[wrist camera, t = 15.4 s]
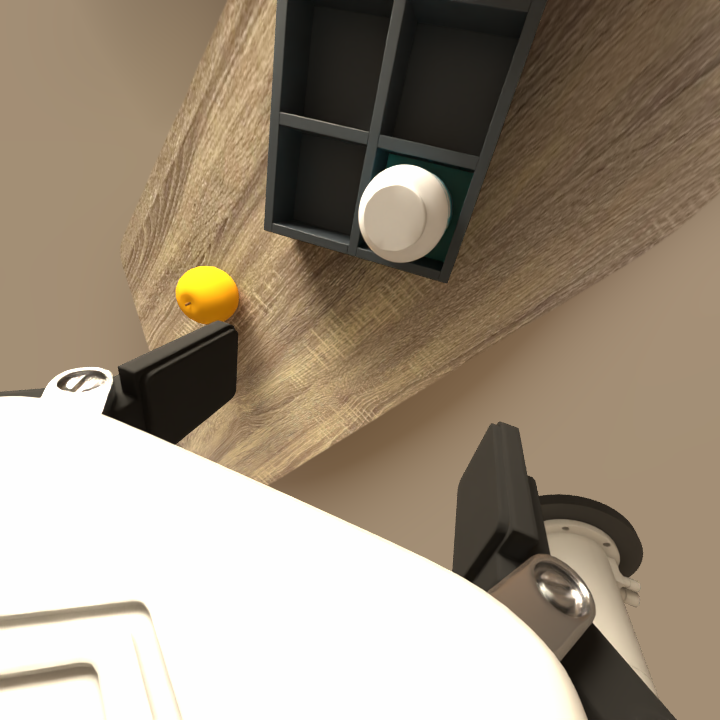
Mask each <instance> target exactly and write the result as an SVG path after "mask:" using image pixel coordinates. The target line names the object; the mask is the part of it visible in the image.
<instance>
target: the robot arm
mask: <svg viewBox="0 0 720 720" xmlns="http://www.w3.org/2000/svg"><path fill="white" fill-rule="evenodd" d="M237 351H238V332H237V331H236V330H235V328H234V326H233V325H231V324H228V323H225V322H222V321H219V320H217V321H215V322H212V323H210V324H208V325H206V326H204V327H202V328H200V329H197V330H195V331H193V332H191V333H189V334H187V335H185V336H182V337H180V338H178V339H176V340H174V341H172V342H170V343H167V344H165V345H163V346H161V347H159V348H157V349H155V350H152V351H150V352H148V353H146V354H144V355H142V356H140V357H137V358H135V359H133V360H131V361H129V362H127V363H125V364H122V365H120V366H118V371H119V375H117V376H115V377H113V375H112V373H111V372H110V371H108V370H106V369H102V368H98V367H97V368H96V367H84V368H77V369H72V370H69V371H66V372H63V373H61V374H59V375H57V376H56V377H54V378H53V379H52V380H51V381H50V383H49V384H48V386H47V388H43V389H31V390H19V391H6V392H0V720H676V719H675V717H674V716H673V715H672V714H671V713H670V712H669V710H668V709H667V708H666V707H665V706H664V705H663V703H662V702H661V701H660V700H659V698H658V695H657V692H656V689H655V686H654V684H653V681H652V678H651V676H650V673H649V670H648V667H647V665H646V662H645V659H644V657H643V654H642V651H641V648H640V645H639V643H638V640H637V637H636V634H635V632H634V629H633V626H632V624H631V621H630V618H629V615H628V612H627V610H626V607H625V604H624V603H626V604H629V605H631V606H633V607H637V606H638V605H639V604H640V598H639V595H638V593H636V592H639V591H640V589H641V586H640V583H639V582H638V581H635V580H633V579H630V578H628V577H624V576H622V574H621V573H620V571H619V569H618V566H619V563H620V555H619V552H618V549H617V547H616V545H615V543H614V541H613V540H612V539H611V538H610V536H608V535H607V534H606V533H605V532H603V531H602V530H600V529H598V528H596V527H595V526H592V525H589V524H587V523H584V522H580V521H576V520H568V519H553V520H546V521H544V520H543V515H542V510H541V506H540V501H539V496H538V491H537V486H536V482H535V480H534V479H533V478H532V477H530V476H528V475H527V471H526V466H525V460H524V455H523V449H522V444H521V438H520V433H519V429H518V428H516V427H514V426H511V425H508V424H506V423H502V422H498V424H497V425H495V424H491V425H490V426H489V428H488V430H487V432H486V434H485V435H484V437H483V439H482V441H481V443H480V445H479V446H478V448H477V450H476V452H475V454H474V456H473V457H472V459H471V461H470V463H469V465H468V467H467V469H466V471H465V472H464V474H463V476H462V478H461V480H460V483H459V486H458V494H457V509H456V526H455V540H454V555H453V570H452V571H449V570H448V569H446V568H444V567H442V566H440V565H438V564H436V563H434V562H432V561H430V560H428V559H426V558H424V557H422V556H420V555H417V554H415V553H413V552H411V551H409V550H407V549H405V548H403V547H401V546H398V545H396V544H394V543H392V542H390V541H388V540H385V539H383V538H381V537H379V536H377V535H375V534H373V533H370V532H368V531H366V530H364V529H362V528H359V527H357V526H355V525H353V524H350V523H348V522H346V521H344V520H342V519H340V518H337V517H335V516H333V515H330V514H328V513H326V512H324V511H322V510H320V509H318V508H315V507H313V506H311V505H309V504H306V503H304V502H302V501H300V500H298V499H295V498H293V497H291V496H289V495H286V494H284V493H282V492H280V491H277V490H275V489H273V488H271V487H269V486H266V485H264V484H262V483H260V482H257V481H255V480H253V479H251V478H248V477H246V476H244V475H242V474H239V473H237V472H235V471H233V470H230V469H228V468H226V467H224V466H221V465H219V464H217V463H215V462H212V461H210V460H208V459H206V458H203V457H201V456H199V455H196V454H194V453H192V452H190V451H187V450H185V449H183V448H180V447H178V446H176V445H175V444H177V443H178V442H179V441H180V440H182V439H183V438H184V437H185V436H186V435H188V434H189V433H190V432H191V431H193V430H194V429H195V428H196V427H198V426H199V425H200V424H201V423H202V422H204V421H205V420H206V419H207V418H209V417H210V416H211V415H212V414H214V413H215V412H216V411H217V410H218V409H220V408H221V407H222V406H223V405H225V404H226V403H227V402H228V401H229V400H231V399H232V398H233V396H234V395H235V392H236V380H237ZM623 586H624V587H623ZM625 587H626V588H625ZM627 588H628V589H627ZM632 590H633V591H632Z"/></svg>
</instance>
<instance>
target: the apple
mask: <svg viewBox="0 0 720 720" xmlns="http://www.w3.org/2000/svg"><path fill="white" fill-rule="evenodd" d="M176 299H177V302H178V305H179V307H180V309H181V310H182V311H183V312H184V314H185V315H186V316H188V317H189V318H190V319H192V320H194V321H196V322H198V323H201V324H210V323H212V322H215V321H217V320H219V321H222V322H224V321H225V320H227V319H228V318H229V317H231V316H232V315H233V314H234V312H235V310H236V309H237V307H238V303H239V293H238V289H237V286H236V284H235V282H234V281H233V280H232V278H231V277H230V276H229V275H228V274H226V273H225V272H224V271H222V270H220V269H217V268H215V267H208V266H200V267H197V268H194V269H191V270H189V271H188V272H186V273H185V274H184V275H183V276H182V277H181V278H180V280H179V282H178V285H177V287H176Z"/></svg>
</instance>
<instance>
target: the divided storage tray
mask: <svg viewBox="0 0 720 720" xmlns="http://www.w3.org/2000/svg"><path fill="white" fill-rule="evenodd" d="M546 3H547V0H277V10H276V28H275V45H274V63H273V80H272V98H271V115H270V133H269V150H268V167H267V185H266V202H265V220H264V230H266V231H269V232H273V233H276V234H279V235H283V236H286V237H290V238H293V239H297V240H300V241H303V242H307V243H310V244H314V245H317V246H320V247H324V248H327V249H331V250H334V251H338V252H341V253H344V254H348V255H351V256H356V257H358V258H361V259H365V260H368V261H372V262H375V263H378V264H382V265H385V266H389V267H392V268H396V269H399V270H402V271H406V272H409V273H413V274H416V275H419V276H423V277H426V278H430V279H433V280H437V281H440V282H443V283H448V280H449V277H450V275H451V272H452V269H453V266H454V263H455V260H456V258H457V255H458V252H459V249H460V246H461V243H462V241H463V238H464V235H465V232H466V229H467V226H468V224H469V221H470V218H471V215H472V212H473V209H474V207H475V204H476V201H477V198H478V195H479V193H480V190H481V187H482V184H483V181H484V178H485V176H486V173H487V170H488V167H489V164H490V161H491V159H492V156H493V153H494V150H495V147H496V144H497V142H498V139H499V136H500V133H501V130H502V127H503V125H504V122H505V119H506V116H507V113H508V110H509V108H510V105H511V102H512V99H513V96H514V93H515V91H516V88H517V85H518V82H519V79H520V76H521V74H522V71H523V68H524V65H525V62H526V59H527V57H528V54H529V51H530V48H531V45H532V42H533V40H534V37H535V34H536V31H537V28H538V25H539V23H540V20H541V17H542V14H543V11H544V8H545V6H546ZM397 165H413V166H417V167H420V168H422V169H424V170H426V171H428V172H430V173H432V174H434V175H436V176H437V177H439V178H440V179H441V180H442V181H443V182H444V183H445V184H446V186H447V187H448V189H449V191H450V194H451V197H452V202H453V212H452V217H451V221H450V223H449V226H448V228H447V229H446V231H445V233H444V234H443V236H442V237H441V239H440V240H439V242H438V243H437V245H436V246H435V247H434V248H433V249H432V250H431V251H430V252H429V253H428V254H426V255H425V256H423V257H421V258H419V259H417V260H414V261H411V262H405V263H397V262H392V261H388V260H386V259H383V258H382V257H380V256H378V255H377V254H376V253H374V252H373V251H372V250H371V249H370V247H369V246H368V245H367V243H366V242H365V240H364V238H363V236H362V233H361V230H360V226H359V217H358V216H359V206H360V201H361V198H362V196H363V193H364V191H365V189H366V188H367V186H368V185H369V183H370V182H371V181H372V180H373V179H374V178H375V177H376V176H377V175H378V174H380V173H381V172H383V171H384V170H386V169H388V168H390V167H393V166H397Z"/></svg>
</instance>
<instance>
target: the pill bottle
mask: <svg viewBox="0 0 720 720" xmlns="http://www.w3.org/2000/svg"><path fill="white" fill-rule="evenodd" d="M452 212H453V202H452V197H451V194H450V191H449V189H448V187H447V186H446V184H445V183H444V182H443V181H442V180H441V179H440V178H439V177H437V176H436V175H434V174H432V173H430V172H428V171H426V170H424V169H422V168H420V167H417V166H413V165H397V166H393V167H390V168H388V169H386V170H384V171H383V172H381V173H380V174H378V175H377V176H376V177H375V178H374V179H373V180H372V181H371V182H370V183H369V185H368V186H367V188H366V189H365V191H364V193H363V196H362V198H361V201H360V206H359V216H358V217H359V226H360V230H361V233H362V236H363V238H364V240H365V242H366V243H367V245H368V246H369V247H370V249H371V250H372V251H373V252H374V253H376V254H377V255H378V256H380V257H382V258H383V259H386V260H388V261H392V262H397V263H405V262H411V261H414V260H417V259H419V258H421V257H423V256H425V255H426V254H428V253H429V252H430V251H431V250H432V249H433V248H434V247H435V246H436V245H437V243H438V242H439V240H440V239H441V237H442V236H443V234H444V233H445V231H446V229H447V228H448V226H449V223H450V221H451V217H452Z"/></svg>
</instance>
